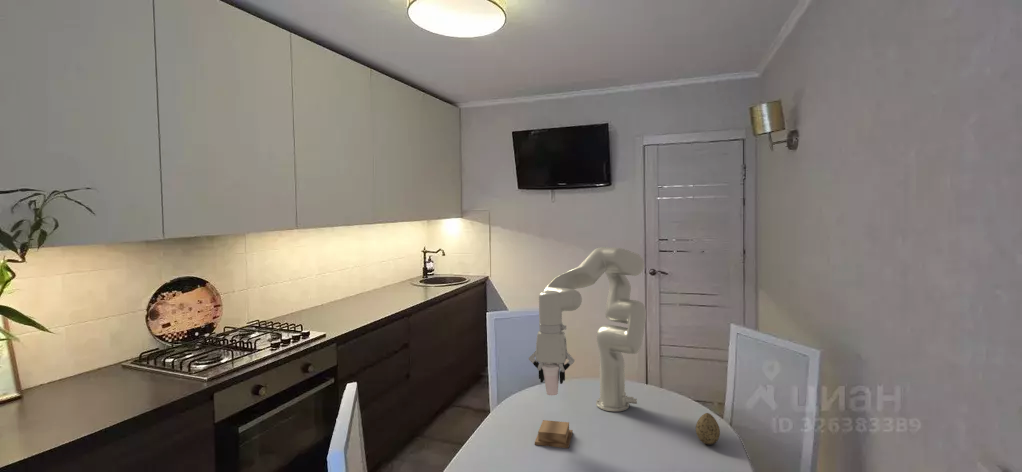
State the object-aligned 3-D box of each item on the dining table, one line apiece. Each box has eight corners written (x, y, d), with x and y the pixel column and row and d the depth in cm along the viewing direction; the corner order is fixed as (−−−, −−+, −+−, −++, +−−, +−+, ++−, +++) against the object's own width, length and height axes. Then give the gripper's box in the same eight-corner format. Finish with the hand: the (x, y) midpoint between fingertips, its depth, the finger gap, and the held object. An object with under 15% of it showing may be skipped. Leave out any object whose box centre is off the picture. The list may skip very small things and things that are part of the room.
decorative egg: (716, 439, 152) (716, 409, 152) (722, 449, 145) (722, 418, 145) (693, 437, 153) (693, 408, 153) (698, 448, 146) (698, 417, 146)
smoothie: (560, 397, 151) (558, 355, 150) (541, 396, 152) (539, 354, 152) (562, 390, 157) (561, 349, 157) (544, 389, 158) (542, 349, 158)
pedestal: (572, 432, 159) (572, 421, 158) (568, 448, 148) (568, 436, 148) (541, 429, 161) (540, 418, 161) (534, 444, 151) (534, 432, 150)
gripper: (578, 326, 155) (579, 379, 156) (528, 324, 160) (529, 376, 160) (575, 332, 148) (576, 387, 149) (522, 330, 152) (524, 384, 153)
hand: (551, 381), depth 154 cm, fingers closed on smoothie, 5 cm apart
